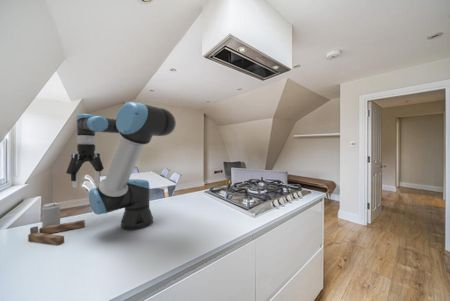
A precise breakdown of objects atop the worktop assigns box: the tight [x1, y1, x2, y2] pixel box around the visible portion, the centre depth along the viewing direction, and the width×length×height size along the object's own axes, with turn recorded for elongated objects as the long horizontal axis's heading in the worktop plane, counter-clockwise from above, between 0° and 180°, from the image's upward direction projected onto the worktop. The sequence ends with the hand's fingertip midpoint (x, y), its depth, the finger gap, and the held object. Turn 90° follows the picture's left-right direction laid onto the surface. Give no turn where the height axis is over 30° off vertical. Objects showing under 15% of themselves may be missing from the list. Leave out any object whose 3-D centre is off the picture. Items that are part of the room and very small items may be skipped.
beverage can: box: [41, 202, 61, 227], centre depth 89 cm, size 6×6×12 cm
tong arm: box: [38, 219, 86, 234], centre depth 86 cm, size 16×2×3 cm, turn 124°
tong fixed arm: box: [27, 225, 65, 246], centre depth 77 cm, size 19×4×4 cm, turn 79°
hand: (86, 185), depth 96 cm, fingers open, 11 cm apart
